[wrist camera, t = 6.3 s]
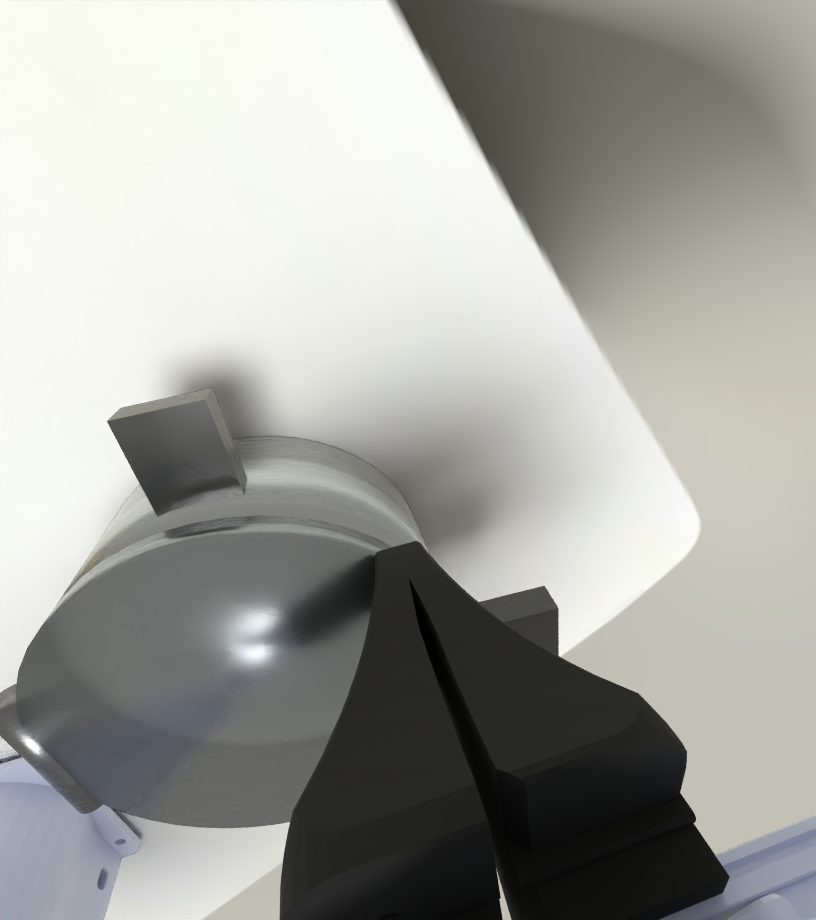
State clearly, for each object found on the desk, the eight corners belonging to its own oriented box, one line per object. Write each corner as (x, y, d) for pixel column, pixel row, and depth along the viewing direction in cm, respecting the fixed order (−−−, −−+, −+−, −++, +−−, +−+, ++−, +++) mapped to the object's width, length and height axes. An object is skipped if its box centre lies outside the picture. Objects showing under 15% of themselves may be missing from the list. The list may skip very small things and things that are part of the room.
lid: (546, 721, 18) (560, 750, 17) (138, 833, 17) (126, 872, 16) (539, 442, 12) (559, 461, 11) (-94, 585, 11) (-139, 623, 10)
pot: (444, 668, 24) (475, 757, 20) (203, 744, 23) (182, 858, 19) (380, 327, 16) (411, 359, 11) (-18, 411, 14) (-150, 484, 10)
